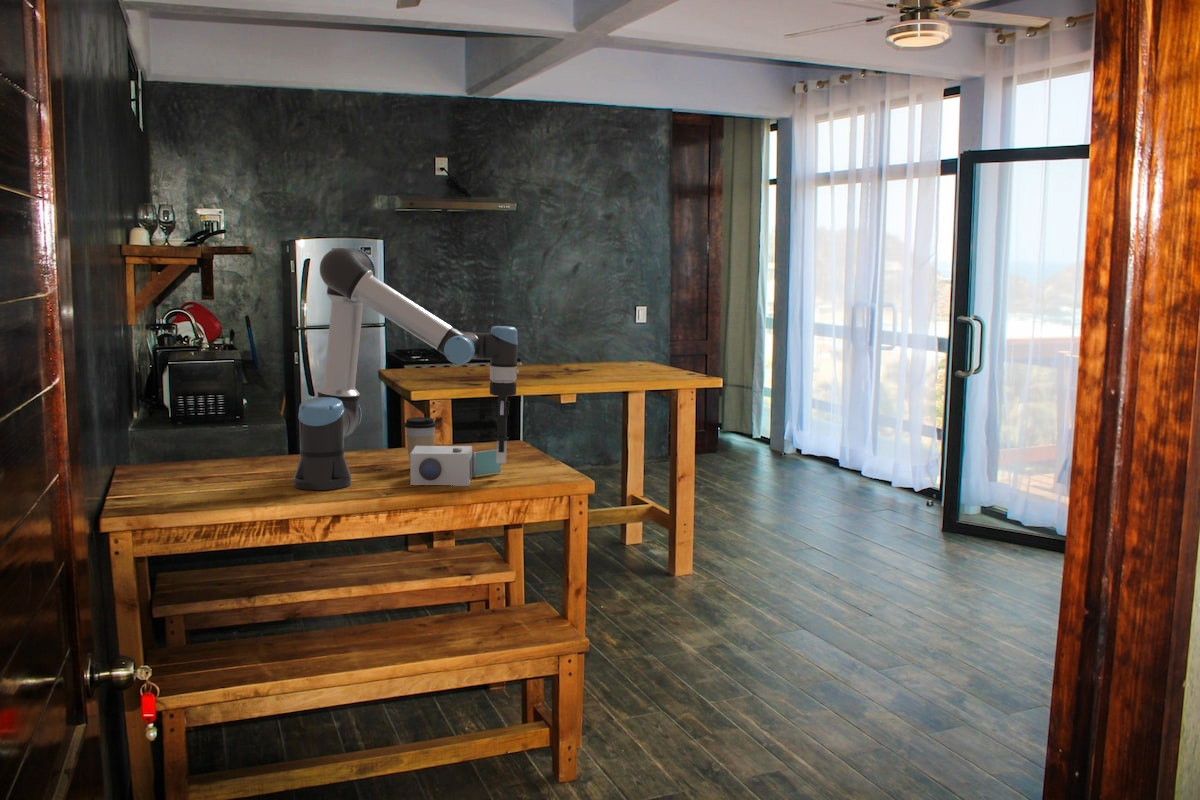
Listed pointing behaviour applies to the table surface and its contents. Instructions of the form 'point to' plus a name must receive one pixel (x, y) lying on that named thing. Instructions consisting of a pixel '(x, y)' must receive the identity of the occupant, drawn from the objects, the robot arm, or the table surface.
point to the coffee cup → (419, 432)
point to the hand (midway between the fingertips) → (501, 462)
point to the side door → (485, 463)
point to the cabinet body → (441, 465)
